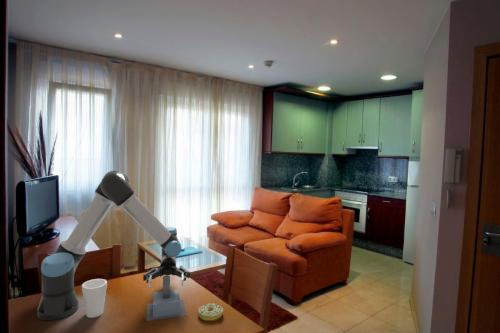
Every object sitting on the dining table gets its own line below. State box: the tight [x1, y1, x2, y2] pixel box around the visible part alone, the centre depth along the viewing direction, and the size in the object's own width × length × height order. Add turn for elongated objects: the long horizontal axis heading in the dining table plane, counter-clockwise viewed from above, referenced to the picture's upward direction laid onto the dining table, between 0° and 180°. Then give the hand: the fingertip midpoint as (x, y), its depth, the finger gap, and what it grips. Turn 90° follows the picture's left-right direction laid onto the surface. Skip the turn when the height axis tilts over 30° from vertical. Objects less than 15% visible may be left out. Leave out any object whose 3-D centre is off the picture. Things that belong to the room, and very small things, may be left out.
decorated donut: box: [197, 302, 224, 322], centre depth 131 cm, size 10×11×4 cm
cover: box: [152, 275, 181, 318], centre depth 134 cm, size 11×11×15 cm
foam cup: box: [81, 278, 108, 319], centre depth 130 cm, size 10×9×13 cm
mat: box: [146, 299, 187, 322], centre depth 135 cm, size 16×14×1 cm
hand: (166, 283), depth 131 cm, fingers open, 13 cm apart
